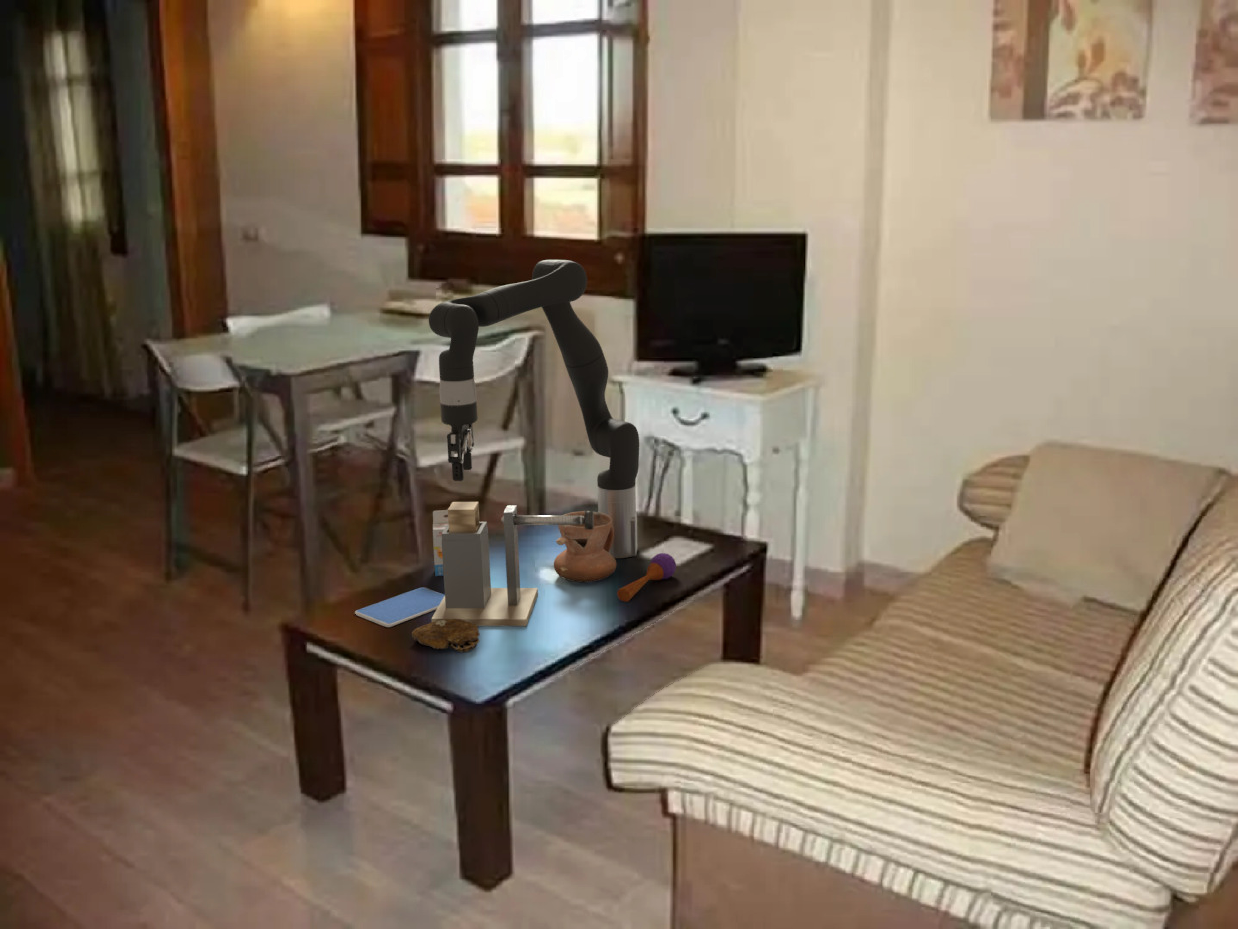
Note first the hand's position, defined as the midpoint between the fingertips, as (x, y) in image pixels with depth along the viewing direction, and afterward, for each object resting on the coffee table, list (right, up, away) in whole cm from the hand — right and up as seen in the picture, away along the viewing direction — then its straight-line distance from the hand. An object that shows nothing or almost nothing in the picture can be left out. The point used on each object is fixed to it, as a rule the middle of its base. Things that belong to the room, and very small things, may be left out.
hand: (462, 474), depth 251 cm
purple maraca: (+39, -26, +18) cm, 50 cm away
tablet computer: (-13, -30, +9) cm, 34 cm away
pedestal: (0, -28, +7) cm, 28 cm away
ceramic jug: (+26, -24, +25) cm, 43 cm away
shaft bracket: (+10, -28, +7) cm, 30 cm away
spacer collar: (0, -13, +3) cm, 13 cm away
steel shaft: (+18, -12, +2) cm, 21 cm away
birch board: (+4, -29, +7) cm, 30 cm away
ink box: (-6, -23, +30) cm, 38 cm away
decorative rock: (-1, -34, -10) cm, 36 cm away
